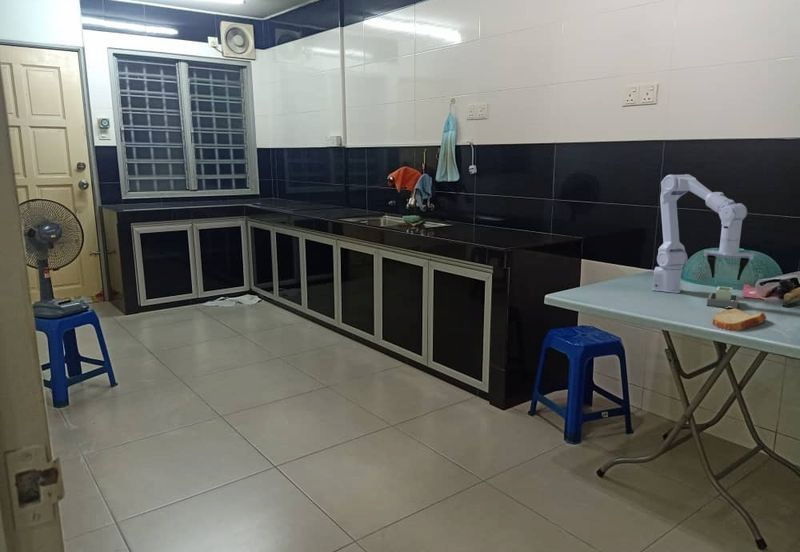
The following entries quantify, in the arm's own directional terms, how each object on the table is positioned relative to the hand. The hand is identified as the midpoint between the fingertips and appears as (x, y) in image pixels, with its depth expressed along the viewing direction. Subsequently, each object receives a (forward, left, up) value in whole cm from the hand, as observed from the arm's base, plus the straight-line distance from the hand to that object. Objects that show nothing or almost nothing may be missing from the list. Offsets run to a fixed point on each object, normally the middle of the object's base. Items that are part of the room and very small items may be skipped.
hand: (725, 278), depth 193 cm
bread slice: (+6, -24, -10) cm, 26 cm away
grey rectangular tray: (0, 0, -9) cm, 9 cm away
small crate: (0, 0, -9) cm, 9 cm away
